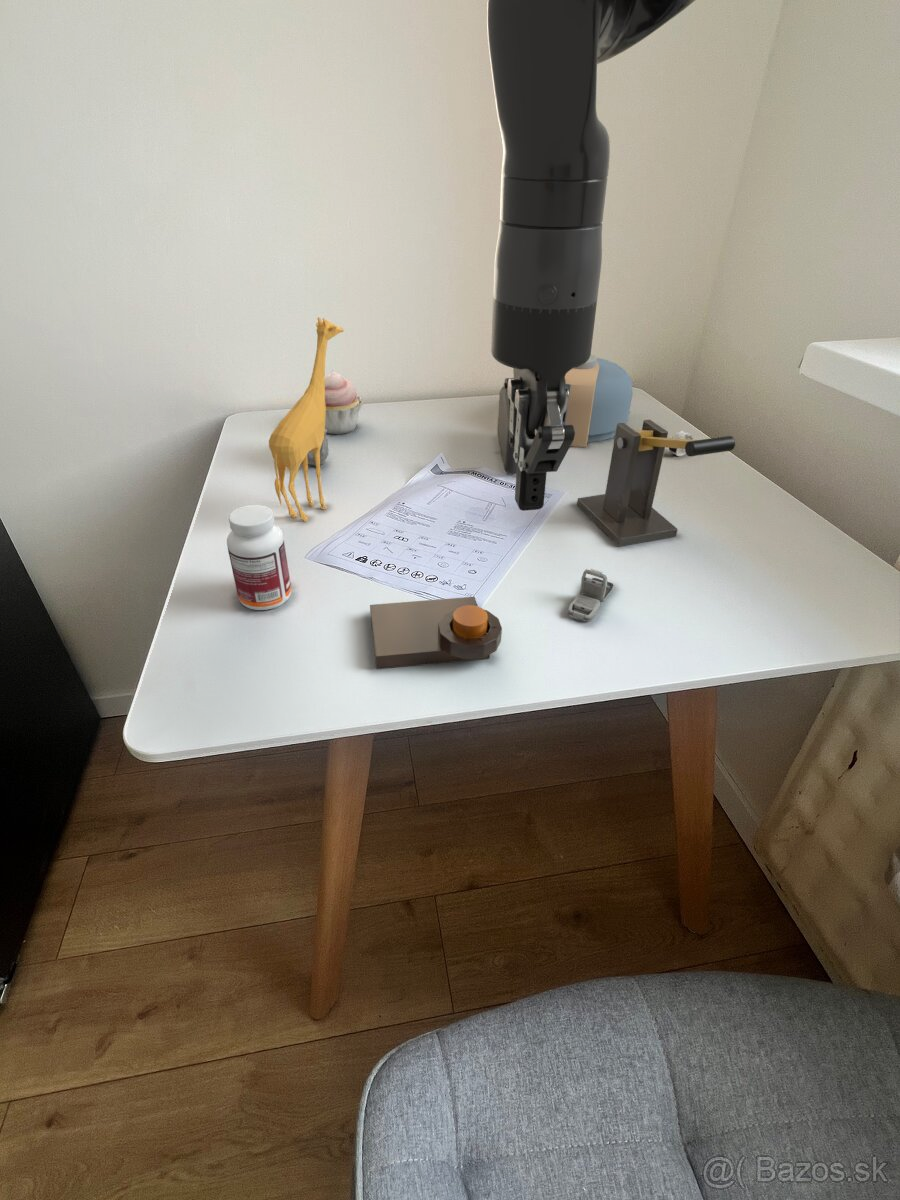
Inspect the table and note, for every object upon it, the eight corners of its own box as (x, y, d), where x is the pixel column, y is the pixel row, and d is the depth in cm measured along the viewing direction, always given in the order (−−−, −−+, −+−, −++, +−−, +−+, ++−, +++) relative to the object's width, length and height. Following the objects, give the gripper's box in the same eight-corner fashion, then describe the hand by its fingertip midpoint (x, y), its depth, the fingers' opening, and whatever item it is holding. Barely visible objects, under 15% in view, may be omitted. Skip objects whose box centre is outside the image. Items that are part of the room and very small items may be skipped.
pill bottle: (261, 576, 85) (248, 496, 79) (302, 590, 83) (292, 509, 77) (226, 602, 81) (209, 520, 74) (269, 618, 79) (254, 534, 72)
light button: (483, 616, 75) (484, 603, 74) (490, 638, 72) (491, 624, 71) (450, 619, 74) (450, 606, 73) (455, 641, 71) (456, 627, 70)
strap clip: (589, 624, 79) (595, 594, 77) (564, 615, 80) (569, 585, 78) (614, 587, 85) (620, 558, 83) (591, 580, 86) (596, 551, 84)
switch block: (484, 607, 81) (486, 582, 79) (504, 668, 73) (507, 642, 71) (370, 616, 79) (369, 591, 77) (377, 680, 71) (376, 654, 69)
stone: (350, 466, 111) (345, 405, 105) (314, 479, 107) (308, 416, 101) (315, 447, 116) (310, 388, 110) (281, 459, 112) (273, 398, 106)
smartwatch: (683, 450, 118) (688, 428, 116) (692, 455, 117) (697, 432, 114) (666, 454, 117) (671, 431, 115) (675, 459, 115) (679, 436, 113)
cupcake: (351, 414, 128) (348, 359, 122) (373, 432, 122) (370, 375, 116) (303, 423, 125) (297, 367, 119) (322, 442, 118) (317, 383, 112)
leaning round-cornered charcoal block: (533, 478, 109) (539, 420, 103) (504, 477, 108) (508, 419, 103) (522, 436, 122) (526, 382, 116) (495, 436, 122) (499, 382, 116)
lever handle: (735, 454, 79) (735, 432, 78) (693, 460, 77) (694, 438, 77) (651, 446, 94) (651, 428, 93) (616, 451, 92) (615, 433, 92)
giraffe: (339, 480, 107) (325, 308, 92) (363, 486, 105) (353, 312, 90) (269, 526, 95) (240, 338, 80) (294, 535, 93) (270, 344, 79)
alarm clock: (495, 421, 127) (499, 354, 120) (566, 397, 138) (574, 334, 131) (577, 456, 116) (587, 383, 108) (647, 426, 127) (660, 358, 119)
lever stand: (676, 536, 95) (699, 441, 87) (618, 546, 93) (636, 450, 85) (630, 496, 104) (647, 407, 96) (576, 505, 102) (589, 414, 94)
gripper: (628, 312, 46) (595, 541, 56) (568, 272, 56) (549, 470, 66) (516, 316, 45) (503, 548, 55) (476, 275, 55) (472, 476, 65)
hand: (528, 505), depth 60 cm, fingers closed
